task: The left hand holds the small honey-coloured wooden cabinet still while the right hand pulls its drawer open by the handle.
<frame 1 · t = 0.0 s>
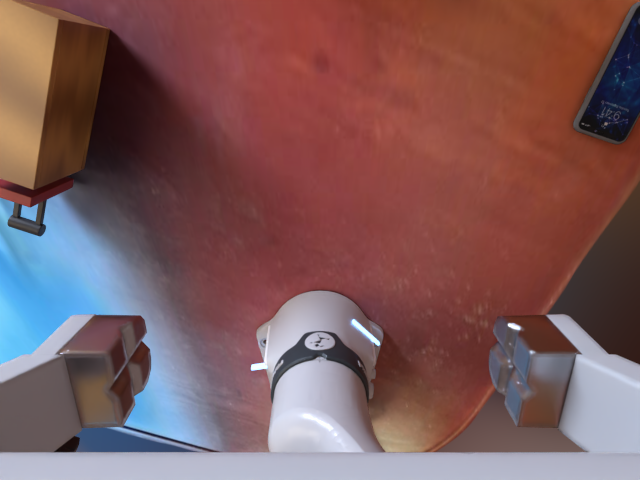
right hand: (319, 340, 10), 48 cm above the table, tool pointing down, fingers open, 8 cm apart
drawer: (39, 146, 51), point 5 cm above the table, slide at 1.4 cm
smartphone: (624, 76, 53), on the table
cabinet: (72, 94, 54), on the table
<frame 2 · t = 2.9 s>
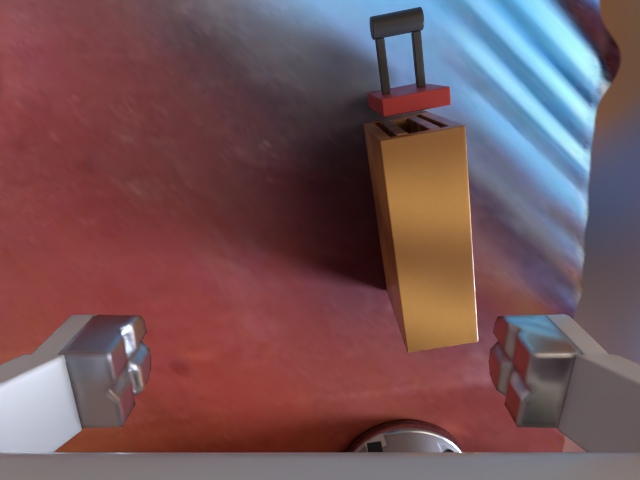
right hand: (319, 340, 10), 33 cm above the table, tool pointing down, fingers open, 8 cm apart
drawer: (410, 159, 36), point 5 cm above the table, slide at 1.4 cm
cabinet: (405, 208, 43), on the table
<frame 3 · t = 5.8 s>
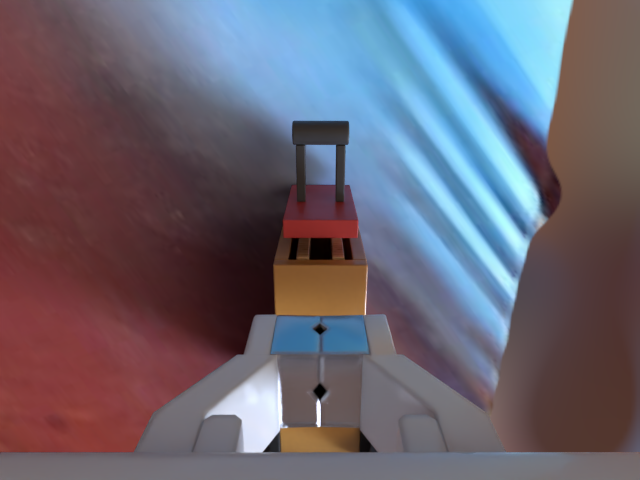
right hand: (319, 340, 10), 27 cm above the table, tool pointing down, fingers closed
drawer: (320, 270, 33), point 5 cm above the table, slide at 1.4 cm
cabinet: (320, 303, 40), on the table, touching left hand
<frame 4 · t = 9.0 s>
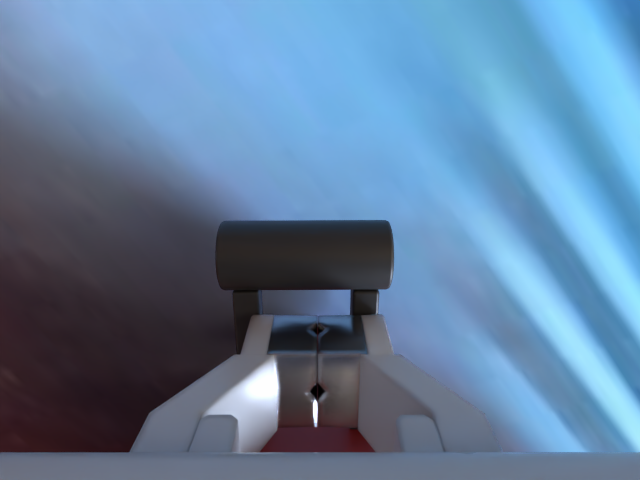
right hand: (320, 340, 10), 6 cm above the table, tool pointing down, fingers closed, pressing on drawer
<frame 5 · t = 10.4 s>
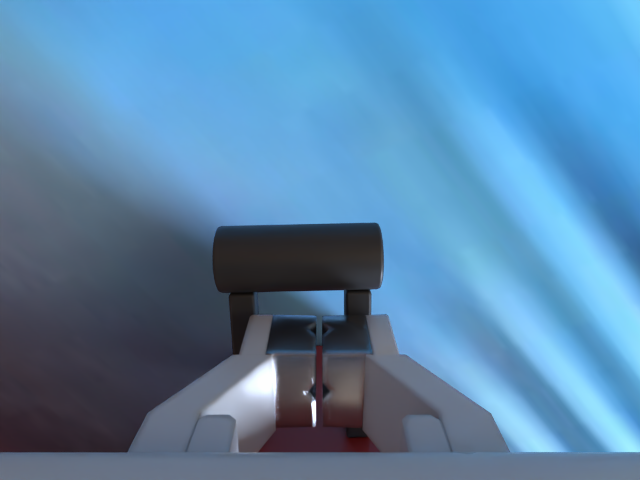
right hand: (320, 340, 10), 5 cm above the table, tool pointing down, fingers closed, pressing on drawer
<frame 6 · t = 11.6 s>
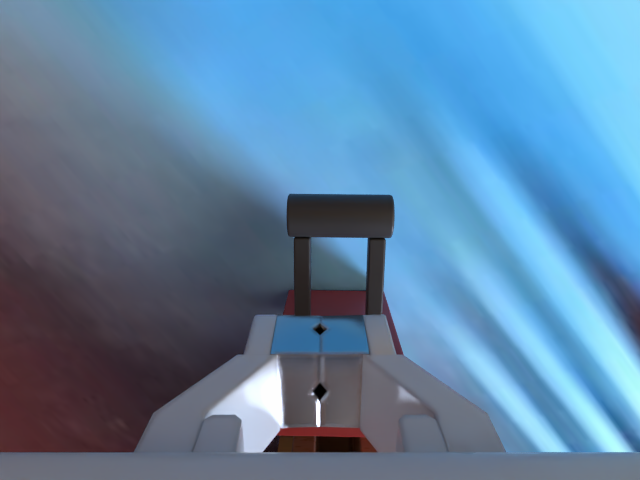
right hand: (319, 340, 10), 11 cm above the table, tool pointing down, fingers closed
drawer: (335, 449, 19), point 5 cm above the table, slide at 7.4 cm
when the left hand's fingers open (5 cm above the table, at t = 12.6 s): cabinet stays where it is, on the table.
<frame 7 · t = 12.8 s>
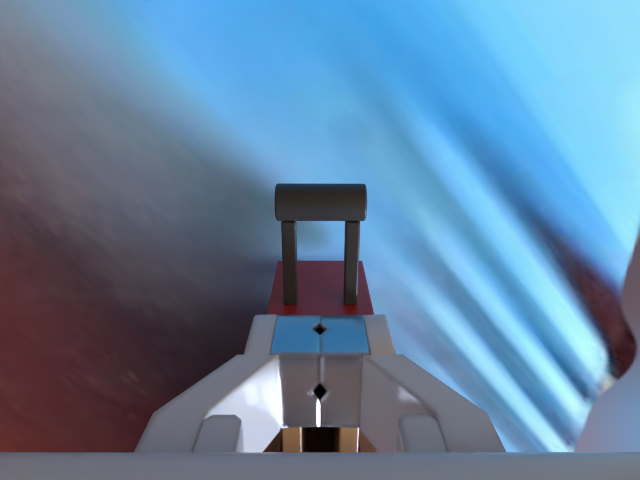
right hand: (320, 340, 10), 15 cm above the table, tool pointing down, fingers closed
drawer: (320, 395, 22), point 5 cm above the table, slide at 7.3 cm
cabinet: (319, 477, 32), on the table
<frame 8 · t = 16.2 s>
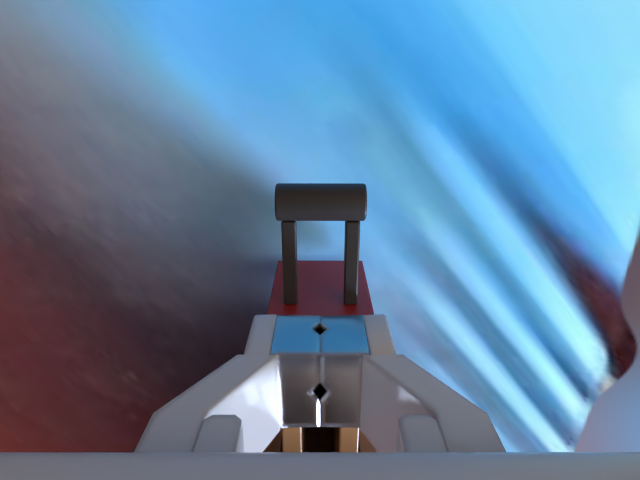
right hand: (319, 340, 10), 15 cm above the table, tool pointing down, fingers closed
drawer: (320, 395, 22), point 5 cm above the table, slide at 7.3 cm
cabinet: (319, 477, 32), on the table
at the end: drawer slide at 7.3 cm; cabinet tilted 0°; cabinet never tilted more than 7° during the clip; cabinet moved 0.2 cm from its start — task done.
